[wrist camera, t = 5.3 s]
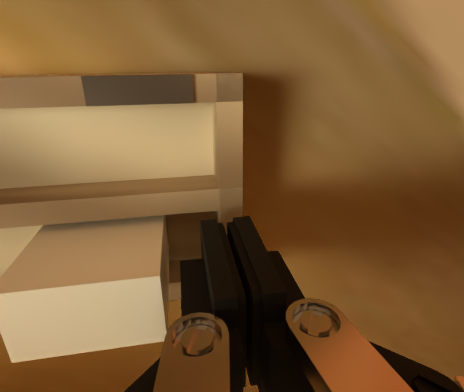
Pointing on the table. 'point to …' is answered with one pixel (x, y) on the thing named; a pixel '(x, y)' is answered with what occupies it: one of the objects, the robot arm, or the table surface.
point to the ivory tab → (87, 288)
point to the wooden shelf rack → (120, 154)
